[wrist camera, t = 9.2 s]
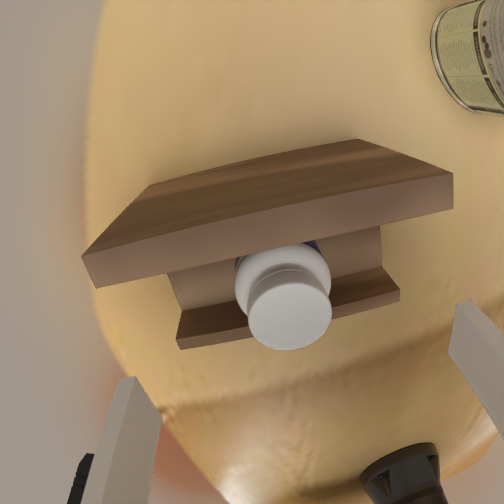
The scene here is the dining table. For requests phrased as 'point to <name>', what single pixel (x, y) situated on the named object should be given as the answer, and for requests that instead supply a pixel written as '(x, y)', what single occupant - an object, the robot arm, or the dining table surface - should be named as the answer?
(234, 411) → the dining table surface
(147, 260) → the wooden display stand
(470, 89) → the coffee can
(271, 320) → the pill bottle
